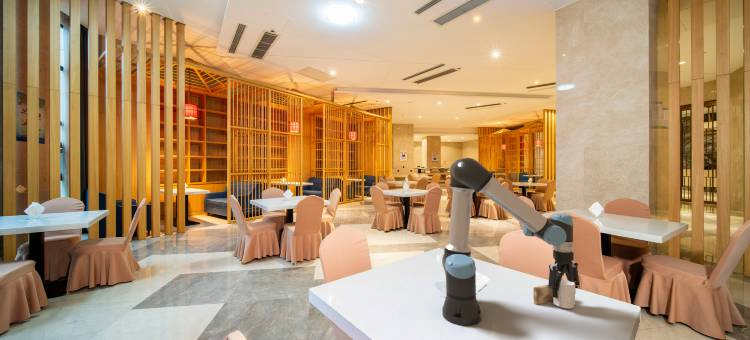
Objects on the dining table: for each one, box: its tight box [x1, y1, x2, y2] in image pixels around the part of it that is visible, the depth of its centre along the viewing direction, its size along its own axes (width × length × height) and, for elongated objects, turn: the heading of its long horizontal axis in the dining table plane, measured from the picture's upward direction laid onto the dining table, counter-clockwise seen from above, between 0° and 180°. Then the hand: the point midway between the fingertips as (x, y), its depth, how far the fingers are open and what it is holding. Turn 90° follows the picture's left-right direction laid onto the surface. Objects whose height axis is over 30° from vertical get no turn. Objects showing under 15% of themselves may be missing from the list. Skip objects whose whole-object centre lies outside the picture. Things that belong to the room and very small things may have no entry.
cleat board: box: [532, 284, 554, 306], centre depth 128 cm, size 16×4×7 cm, turn 107°
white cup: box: [559, 278, 576, 310], centre depth 124 cm, size 8×8×10 cm
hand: (564, 303), depth 124 cm, fingers closed on white cup, 7 cm apart
